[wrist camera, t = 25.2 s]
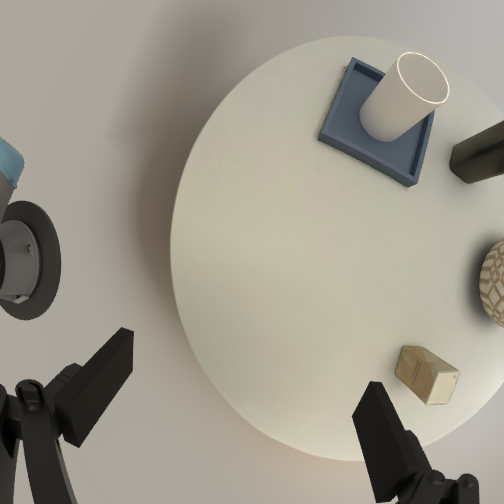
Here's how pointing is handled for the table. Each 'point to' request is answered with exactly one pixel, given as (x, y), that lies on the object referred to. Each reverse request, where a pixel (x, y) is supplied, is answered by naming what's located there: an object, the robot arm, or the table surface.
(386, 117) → the cup
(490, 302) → the vase
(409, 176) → the cup tray
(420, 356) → the box
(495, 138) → the wine bottle
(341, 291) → the table surface
